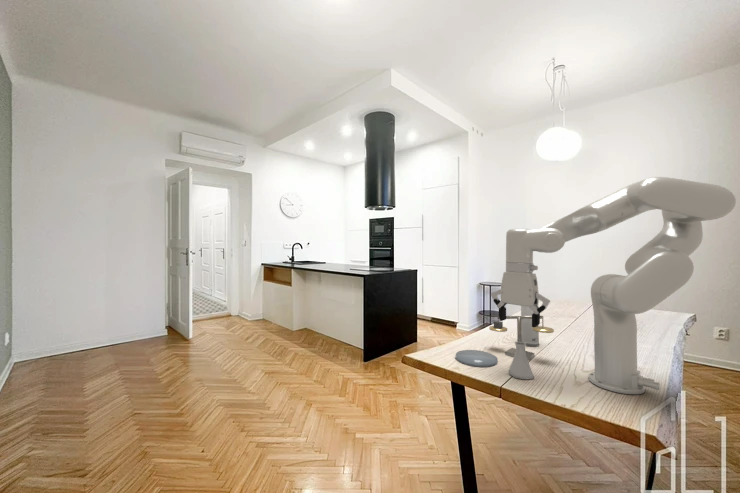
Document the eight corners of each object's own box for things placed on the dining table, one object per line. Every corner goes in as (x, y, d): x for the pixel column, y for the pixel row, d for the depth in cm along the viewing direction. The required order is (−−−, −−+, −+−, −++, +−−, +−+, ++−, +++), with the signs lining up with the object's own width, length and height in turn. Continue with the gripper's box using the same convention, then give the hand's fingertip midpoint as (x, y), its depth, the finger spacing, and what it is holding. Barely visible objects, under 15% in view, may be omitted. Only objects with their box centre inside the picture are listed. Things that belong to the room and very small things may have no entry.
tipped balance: (556, 361, 103) (556, 315, 103) (550, 366, 99) (549, 318, 99) (494, 346, 119) (493, 306, 119) (486, 350, 115) (486, 309, 115)
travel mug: (538, 348, 117) (537, 297, 117) (520, 345, 121) (519, 295, 121) (540, 343, 122) (540, 295, 122) (523, 341, 126) (522, 293, 126)
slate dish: (504, 359, 105) (504, 356, 105) (485, 370, 96) (485, 367, 96) (468, 349, 116) (468, 347, 116) (448, 359, 106) (448, 356, 106)
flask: (528, 370, 96) (527, 339, 96) (538, 380, 88) (538, 347, 89) (504, 370, 96) (504, 339, 96) (513, 380, 89) (512, 346, 89)
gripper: (554, 269, 89) (553, 327, 89) (497, 266, 102) (496, 316, 102) (545, 271, 84) (544, 331, 84) (486, 267, 97) (485, 319, 97)
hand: (518, 323), depth 93 cm, fingers open, 9 cm apart
